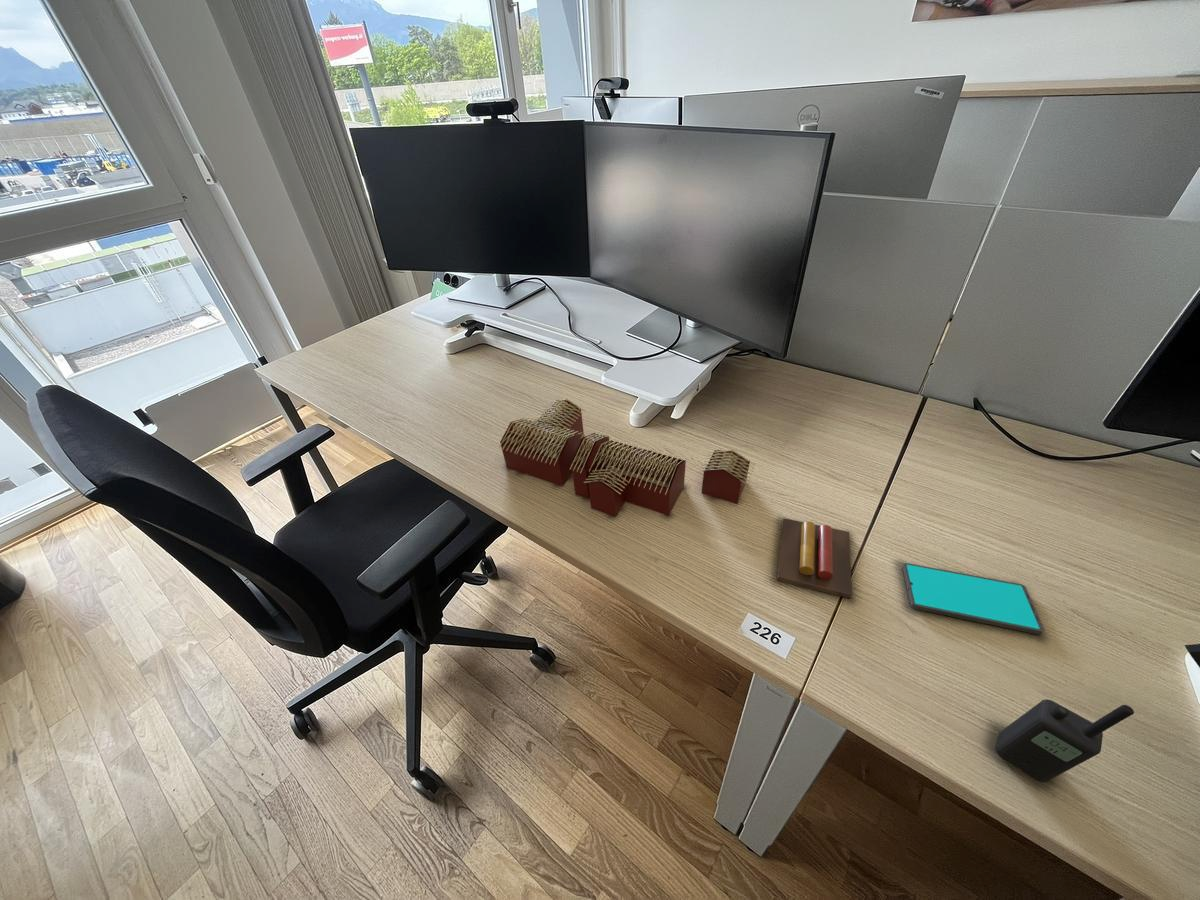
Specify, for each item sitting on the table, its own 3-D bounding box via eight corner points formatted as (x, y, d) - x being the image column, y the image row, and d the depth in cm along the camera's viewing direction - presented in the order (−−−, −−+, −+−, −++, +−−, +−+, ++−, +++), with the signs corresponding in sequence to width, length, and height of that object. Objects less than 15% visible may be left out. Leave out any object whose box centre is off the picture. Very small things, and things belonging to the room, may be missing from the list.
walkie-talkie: (993, 752, 51) (1074, 695, 41) (999, 727, 52) (1079, 666, 43) (1048, 787, 48) (1149, 735, 38) (1053, 759, 50) (1151, 703, 40)
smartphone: (1045, 632, 59) (913, 604, 63) (1041, 635, 60) (911, 608, 64) (1024, 584, 65) (903, 561, 69) (1021, 587, 65) (901, 565, 69)
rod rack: (847, 535, 74) (852, 523, 72) (850, 598, 66) (856, 587, 64) (782, 521, 77) (785, 509, 75) (776, 580, 69) (780, 568, 67)
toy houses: (498, 476, 90) (486, 436, 84) (553, 418, 104) (547, 380, 97) (725, 554, 73) (733, 511, 66) (756, 473, 86) (764, 430, 80)
